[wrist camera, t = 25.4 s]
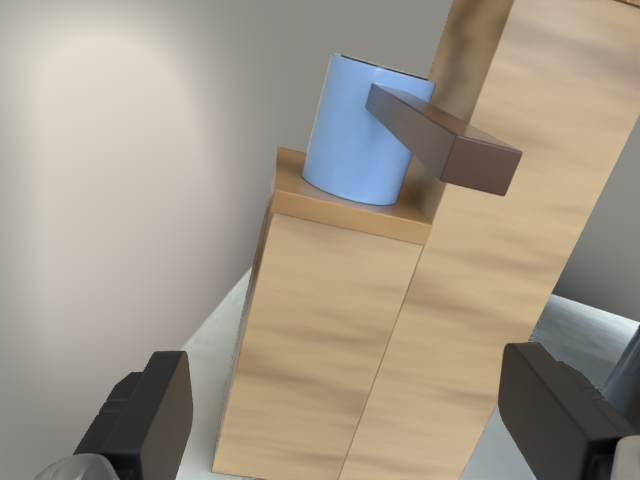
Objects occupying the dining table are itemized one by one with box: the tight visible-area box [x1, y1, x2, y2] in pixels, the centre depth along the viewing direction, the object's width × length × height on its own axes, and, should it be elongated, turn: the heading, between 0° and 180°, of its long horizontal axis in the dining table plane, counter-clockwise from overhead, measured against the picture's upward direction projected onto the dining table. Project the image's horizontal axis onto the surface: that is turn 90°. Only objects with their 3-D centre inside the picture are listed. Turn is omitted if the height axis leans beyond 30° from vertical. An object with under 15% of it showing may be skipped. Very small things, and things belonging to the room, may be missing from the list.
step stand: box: [212, 0, 640, 480], centre depth 30 cm, size 10×16×32 cm, turn 94°
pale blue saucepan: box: [301, 54, 523, 205], centre depth 21 cm, size 18×6×7 cm, turn 4°
